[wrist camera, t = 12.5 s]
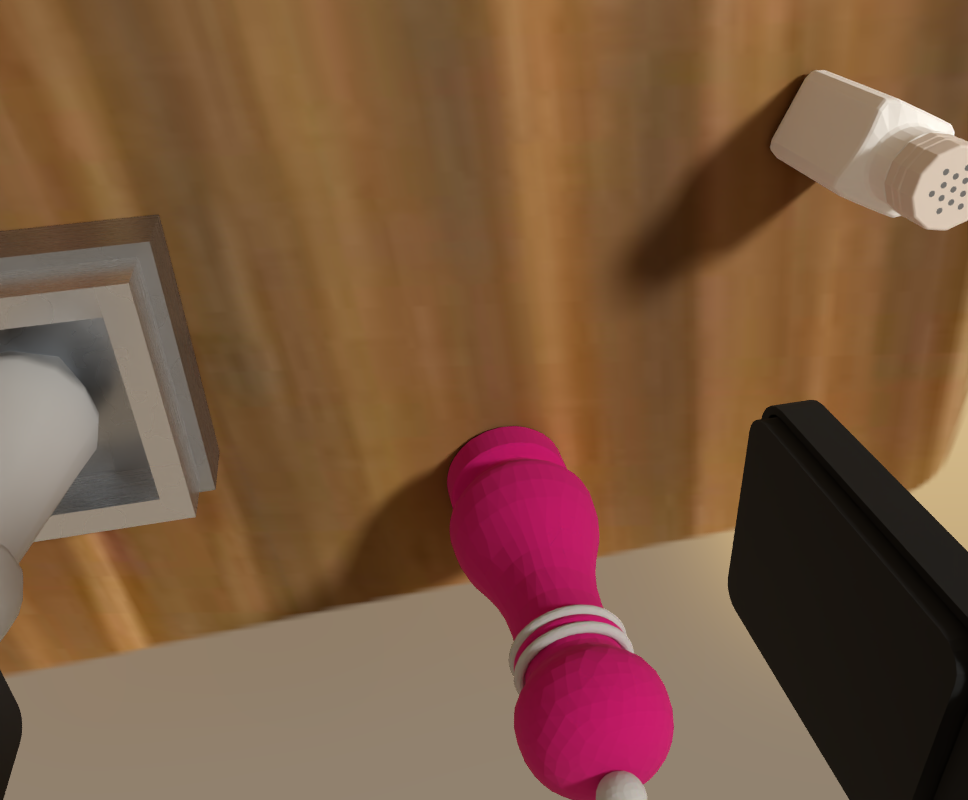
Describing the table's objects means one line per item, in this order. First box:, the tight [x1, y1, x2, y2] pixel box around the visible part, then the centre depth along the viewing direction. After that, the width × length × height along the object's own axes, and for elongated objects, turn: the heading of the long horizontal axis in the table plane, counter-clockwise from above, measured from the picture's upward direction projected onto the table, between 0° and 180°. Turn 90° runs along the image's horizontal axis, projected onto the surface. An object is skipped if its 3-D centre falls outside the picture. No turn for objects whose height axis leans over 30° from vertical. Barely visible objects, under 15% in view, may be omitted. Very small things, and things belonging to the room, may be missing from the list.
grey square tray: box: [0, 215, 219, 542], centre depth 36 cm, size 12×13×6 cm
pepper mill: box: [447, 426, 674, 800], centre depth 38 cm, size 7×7×20 cm
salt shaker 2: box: [770, 70, 968, 231], centre depth 35 cm, size 4×4×10 cm
